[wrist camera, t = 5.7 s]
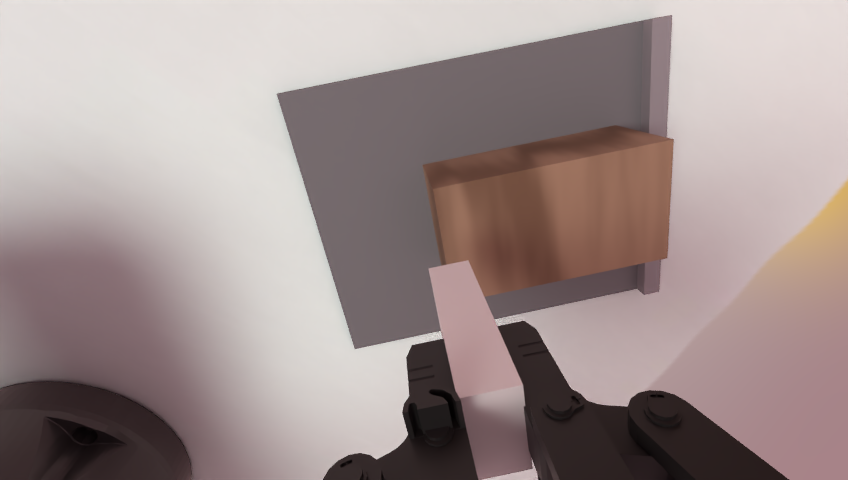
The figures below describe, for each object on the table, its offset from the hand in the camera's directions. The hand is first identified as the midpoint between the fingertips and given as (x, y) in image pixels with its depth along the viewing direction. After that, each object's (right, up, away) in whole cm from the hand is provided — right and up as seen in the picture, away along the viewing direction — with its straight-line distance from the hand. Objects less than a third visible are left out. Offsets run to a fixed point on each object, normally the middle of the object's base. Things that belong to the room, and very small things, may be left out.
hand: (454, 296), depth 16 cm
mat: (+3, +4, +9) cm, 10 cm away
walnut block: (0, +3, +6) cm, 7 cm away
